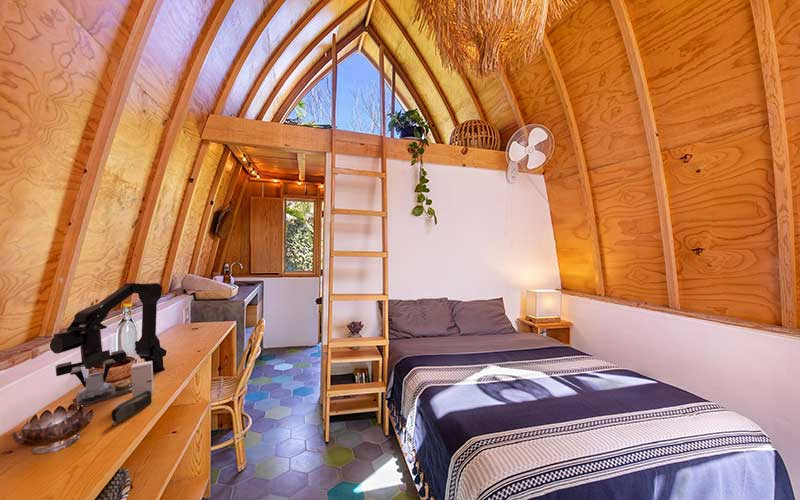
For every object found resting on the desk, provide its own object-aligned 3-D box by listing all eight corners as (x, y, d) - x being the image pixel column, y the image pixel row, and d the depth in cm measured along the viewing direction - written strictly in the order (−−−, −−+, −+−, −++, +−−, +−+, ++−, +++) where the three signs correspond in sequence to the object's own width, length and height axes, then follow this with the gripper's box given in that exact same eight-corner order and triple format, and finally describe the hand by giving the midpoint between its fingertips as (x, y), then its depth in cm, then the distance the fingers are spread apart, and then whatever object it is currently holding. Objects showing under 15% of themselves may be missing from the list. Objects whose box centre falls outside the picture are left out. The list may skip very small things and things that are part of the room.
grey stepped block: (110, 384, 124) (108, 368, 124) (113, 390, 118) (112, 373, 118) (77, 393, 117) (75, 376, 117) (78, 401, 111) (77, 383, 111)
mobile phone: (144, 389, 112) (105, 411, 97) (153, 389, 112) (114, 411, 97) (145, 403, 112) (106, 427, 97) (153, 402, 112) (115, 426, 97)
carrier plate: (137, 380, 131) (136, 369, 131) (142, 388, 124) (142, 377, 123) (75, 398, 118) (74, 386, 118) (77, 408, 110) (76, 395, 110)
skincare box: (132, 400, 114) (129, 367, 113) (134, 395, 118) (131, 364, 117) (153, 395, 117) (151, 363, 117) (154, 390, 121) (152, 359, 121)
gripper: (54, 356, 105) (58, 401, 105) (127, 340, 119) (130, 380, 119) (53, 349, 112) (57, 392, 113) (122, 335, 126) (125, 373, 127)
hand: (94, 384), depth 118 cm, fingers closed on grey stepped block, 5 cm apart
